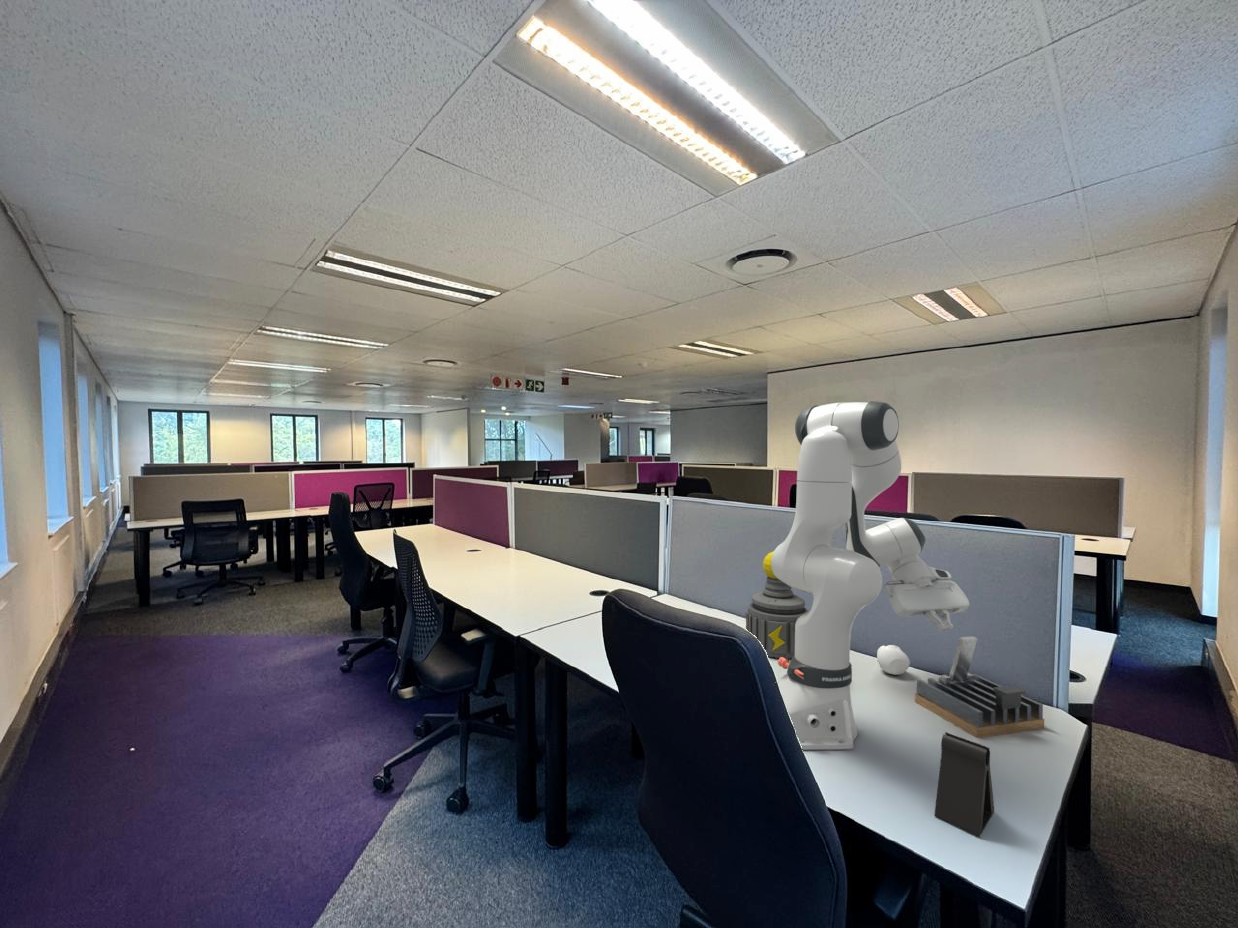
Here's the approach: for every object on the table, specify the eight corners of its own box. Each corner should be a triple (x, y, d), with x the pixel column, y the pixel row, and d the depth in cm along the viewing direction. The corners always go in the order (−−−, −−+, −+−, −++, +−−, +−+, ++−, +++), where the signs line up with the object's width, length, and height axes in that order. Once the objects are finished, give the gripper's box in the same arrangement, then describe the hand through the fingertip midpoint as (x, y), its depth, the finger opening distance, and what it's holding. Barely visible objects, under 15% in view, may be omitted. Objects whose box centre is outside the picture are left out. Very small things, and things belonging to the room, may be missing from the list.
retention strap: (962, 639, 115) (958, 637, 116) (950, 682, 118) (946, 679, 119) (978, 638, 116) (974, 636, 117) (966, 680, 119) (962, 678, 120)
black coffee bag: (952, 793, 86) (952, 723, 86) (994, 811, 82) (995, 738, 82) (934, 816, 80) (934, 742, 80) (978, 838, 76) (979, 759, 76)
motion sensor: (915, 676, 134) (915, 648, 134) (896, 681, 130) (896, 652, 130) (888, 665, 141) (888, 638, 141) (869, 670, 138) (870, 642, 138)
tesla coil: (747, 634, 165) (748, 544, 165) (808, 641, 159) (809, 547, 159) (743, 655, 147) (744, 554, 147) (811, 664, 141) (813, 558, 141)
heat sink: (980, 739, 103) (981, 696, 103) (914, 701, 119) (915, 664, 119) (1048, 730, 107) (1049, 688, 107) (976, 694, 123) (976, 658, 123)
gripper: (887, 575, 126) (918, 626, 117) (953, 571, 131) (988, 620, 122) (874, 588, 131) (903, 638, 121) (939, 584, 135) (972, 632, 126)
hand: (946, 629), depth 121 cm, fingers closed
